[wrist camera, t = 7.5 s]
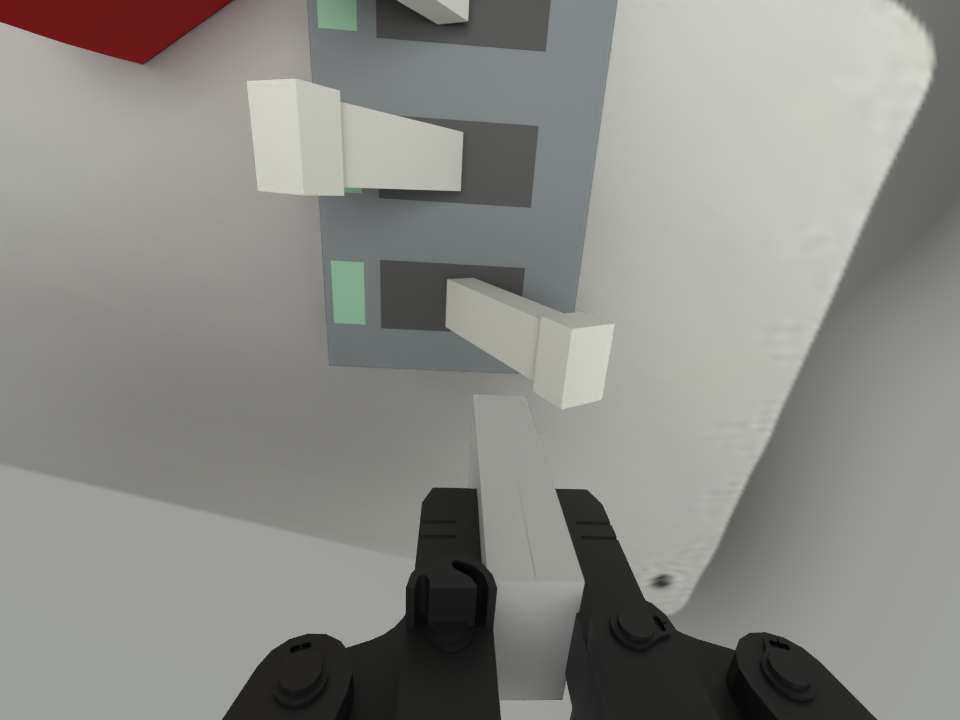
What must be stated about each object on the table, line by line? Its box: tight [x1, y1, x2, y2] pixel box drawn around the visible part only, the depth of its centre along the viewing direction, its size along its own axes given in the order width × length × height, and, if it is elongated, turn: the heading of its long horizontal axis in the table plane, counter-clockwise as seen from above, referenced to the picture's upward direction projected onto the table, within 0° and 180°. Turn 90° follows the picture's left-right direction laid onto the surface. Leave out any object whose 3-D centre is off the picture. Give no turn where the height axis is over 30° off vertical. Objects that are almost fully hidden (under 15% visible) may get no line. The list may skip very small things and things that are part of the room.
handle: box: [247, 78, 463, 196], centre depth 21 cm, size 2×4×12 cm
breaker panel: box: [307, 0, 617, 374], centre depth 28 cm, size 16×26×3 cm, turn 176°
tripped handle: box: [445, 278, 615, 410], centre depth 24 cm, size 2×4×12 cm, turn 177°
